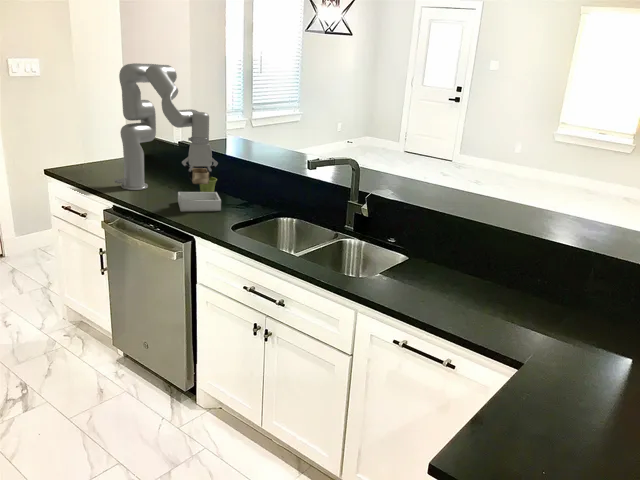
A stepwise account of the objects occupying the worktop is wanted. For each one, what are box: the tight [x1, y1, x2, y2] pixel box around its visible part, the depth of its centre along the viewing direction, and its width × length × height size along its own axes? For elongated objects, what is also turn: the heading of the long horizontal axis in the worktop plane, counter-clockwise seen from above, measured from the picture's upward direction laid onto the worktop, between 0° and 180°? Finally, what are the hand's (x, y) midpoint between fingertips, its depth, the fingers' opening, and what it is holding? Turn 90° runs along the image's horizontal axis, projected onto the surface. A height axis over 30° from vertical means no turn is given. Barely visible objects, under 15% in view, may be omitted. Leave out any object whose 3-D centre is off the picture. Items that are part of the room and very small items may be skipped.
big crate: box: [177, 191, 222, 212], centre depth 252 cm, size 18×14×5 cm
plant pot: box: [199, 176, 218, 192], centre depth 269 cm, size 9×9×9 cm
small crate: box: [191, 167, 209, 185], centre depth 247 cm, size 7×10×5 cm
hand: (199, 179), depth 248 cm, fingers closed on small crate, 7 cm apart
